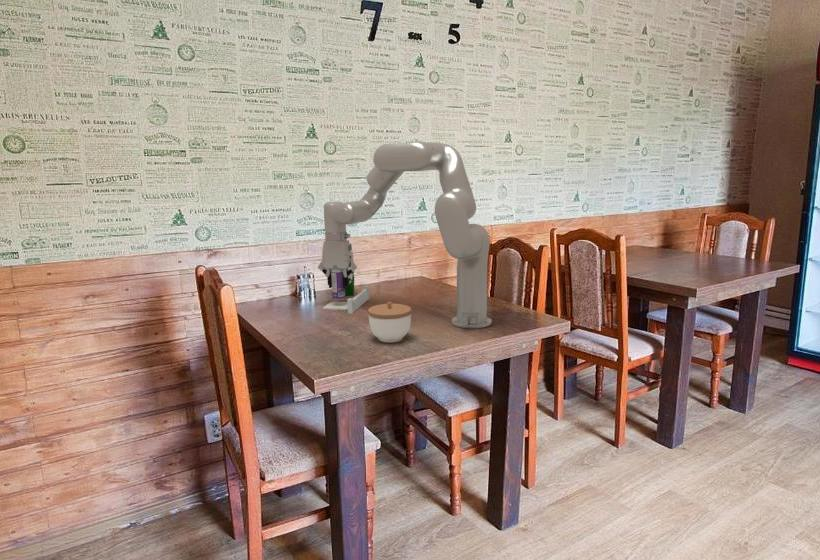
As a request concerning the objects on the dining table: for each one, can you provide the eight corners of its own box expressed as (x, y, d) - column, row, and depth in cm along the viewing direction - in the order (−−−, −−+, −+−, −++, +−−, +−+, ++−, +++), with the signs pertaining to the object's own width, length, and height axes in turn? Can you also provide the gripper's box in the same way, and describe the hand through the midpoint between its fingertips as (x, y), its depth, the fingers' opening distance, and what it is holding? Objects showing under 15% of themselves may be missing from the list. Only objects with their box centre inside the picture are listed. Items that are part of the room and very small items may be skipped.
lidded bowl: (360, 339, 162) (358, 302, 160) (391, 329, 171) (390, 295, 169) (389, 348, 154) (387, 310, 151) (420, 338, 162) (420, 301, 160)
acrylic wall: (352, 313, 190) (351, 299, 189) (347, 313, 191) (347, 299, 190) (369, 298, 211) (369, 285, 210) (365, 298, 211) (364, 285, 210)
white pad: (347, 310, 195) (347, 308, 195) (323, 309, 197) (322, 307, 197) (354, 303, 204) (354, 302, 204) (331, 303, 206) (331, 301, 206)
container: (345, 296, 202) (344, 256, 199) (344, 300, 198) (343, 258, 194) (333, 297, 202) (331, 256, 199) (331, 300, 197) (329, 259, 194)
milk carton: (356, 296, 216) (354, 245, 212) (333, 298, 213) (331, 246, 209) (352, 291, 224) (350, 242, 220) (329, 293, 221) (327, 243, 217)
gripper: (361, 235, 197) (363, 285, 201) (317, 235, 200) (319, 284, 204) (355, 238, 190) (357, 290, 194) (309, 238, 193) (312, 289, 197)
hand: (338, 286), depth 199 cm, fingers closed on container, 4 cm apart
